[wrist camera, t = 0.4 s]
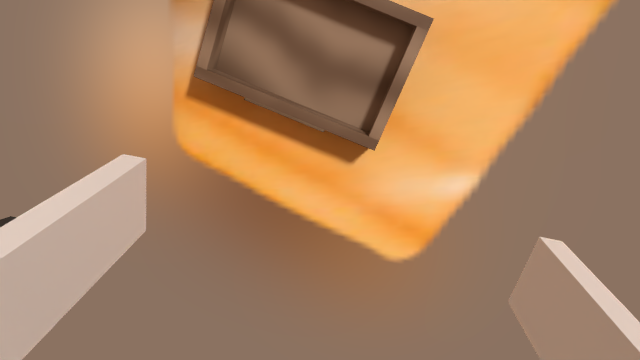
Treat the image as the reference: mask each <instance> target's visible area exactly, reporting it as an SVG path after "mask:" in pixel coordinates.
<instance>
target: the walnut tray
mask: <svg viewBox="0 0 640 360" xmlns="http://www.w3.org/2000/svg"><path fill="white" fill-rule="evenodd" d="M432 21H433V18H431V17H428V16H426V15H423V14H421V13H419V12H416V11H414V10H411V9H409V8H406V7H404V6H402V5H399V4H397V3H394V2H392V1H389V0H214V2H213V5H212V9H211V13H210V17H209V20H208V24H207V28H206V32H205V35H204V39H203V43H202V47H201V50H200V54H199V58H198V62H197V65H196V69H195V73H194V77H197V78H199V79H201V80H204V81H206V82H209V83H211V84H214V85H216V86H219V87H221V88H223V89H226V90H228V91H231V92H233V93H236V94H238V95H240V96H243V97H245V99H244V100H246V101H249V102H251V103H254V104H256V105H259V106H261V107H263V108H266V109H268V110H271V111H273V112H276V113H278V114H281V115H283V116H285V117H288V118H290V119H293V120H295V121H298V122H300V123H302V124H305V125H307V126H310V127H312V128H315V129H317V130H319V131H322V132H324V131H325V130H326V131H328V132H330V133H333V134H335V135H338V136H340V137H343V138H345V139H347V140H350V141H352V142H355V143H357V144H360V145H362V146H365V147H367V148H369V149H372V150H374V151H375V148H376V146H377V144H378V142H379V139H380V137H381V135H382V133H383V131H384V128H385V126H386V124H387V122H388V119H389V117H390V115H391V113H392V110H393V108H394V106H395V104H396V102H397V99H398V97H399V95H400V93H401V90H402V88H403V86H404V84H405V81H406V79H407V77H408V75H409V73H410V70H411V68H412V66H413V64H414V61H415V59H416V57H417V55H418V53H419V50H420V48H421V46H422V44H423V41H424V39H425V37H426V35H427V32H428V30H429V28H430V26H431V24H432Z"/></svg>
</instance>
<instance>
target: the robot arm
mask: <svg viewBox="0 0 640 360" xmlns="http://www.w3.org/2000/svg"><path fill="white" fill-rule="evenodd" d="M145 231H146V159H145V158H140V157H135V156H130V155H125V154H123V155H121V156H119V157H117V158H116V159H114V160H112V161H111V162H109V163H107V164H106V165H104V166H102V167H101V168H99V169H97V170H96V171H94V172H92V173H91V174H89V175H87V176H86V177H84V178H82V179H81V180H79V181H77V182H76V183H74V184H72V185H71V186H69V187H68V188H66V189H64V190H62V191H61V192H59V193H57V194H55V195H54V196H52V197H50V198H49V199H47V200H45V201H44V202H42V203H40V204H39V205H37V206H36V207H34V208H32V209H30V210H29V211H27V212H25V213H24V214H22V215H20V216H19V217H17V218H16V217H11V216H10V217H8V218H5V219H1V220H0V360H22V359H23V358H24V357H25V355H26V354H27V353H29V352H30V351H31V349H32V348H33V347H34V346H35V345H36V344H37V343H38V342H39V341H40V340H41V339H42V338H43V337H44V336H45V335H46V334H47V333H48V332H49V331H50V330H51V329H52V328H53V327H54V325H56V323H57V322H58V321H59V320H60V319H61V318H62V317H63V316H64V315H65V314H66V313H67V312H68V311H69V310H70V309H71V308H72V307H73V306H74V305H75V304H76V303H77V302H78V300H80V299H81V297H82V296H83V295H84V294H85V293H86V292H87V291H88V290H89V289H90V288H91V287H92V286H93V285H94V284H95V283H96V282H97V281H98V280H99V279H100V278H101V277H102V276H103V275H104V274H105V273H106V271H107V270H108V269H109V268H110V267H111V266H112V265H113V264H114V263H115V262H116V261H117V260H118V259H119V258H120V257H121V256H122V254H124V253H125V252H126V250H128V249H129V248H130V246H131V245H132V244H133V243H134V242H135V241H136V240H137V239H138V238H139V237H140V236H141V235H142V234H143V233H144V232H145ZM508 303H509V305H510V306H511V308H512V310H513V312H514V313H515V315H516V317H517V319H518V321H519V323H520V324H521V326H522V328H523V330H524V332H525V333H526V335H527V337H528V339H529V341H530V342H531V344H532V346H533V347H534V349H535V351H536V353H537V355H538V357H539V358H540V360H640V322H639V321H638V320H637V319H636V318H635V317H634V316H633V315H632V314H631V313H630V312H629V311H628V310H627V309H626V308H625V307H624V306H623V305H622V303H621V302H620V301H619V300H618V299H617V298H616V297H615V296H614V295H613V294H612V293H611V292H610V291H609V290H608V289H607V288H606V287H605V286H604V285H603V284H602V283H601V282H600V280H599V279H598V278H597V277H596V276H595V275H594V274H593V273H592V272H591V271H590V270H589V269H588V268H587V267H586V266H585V265H584V264H583V263H582V262H581V261H580V259H578V258H577V256H576V255H575V254H574V253H573V252H572V251H571V250H570V249H569V248H568V247H567V246H566V245H565V244H564V243H563V242H562V241H558V240H553V239H548V238H543V237H539V238H538V240H537V243H536V245H535V247H534V249H533V251H532V253H531V255H530V257H529V259H528V261H527V263H526V266H525V267H524V270H523V272H522V274H521V276H520V278H519V280H518V282H517V284H516V286H515V288H514V291H513V292H512V295H511V296H510V299H509V301H508Z"/></svg>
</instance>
